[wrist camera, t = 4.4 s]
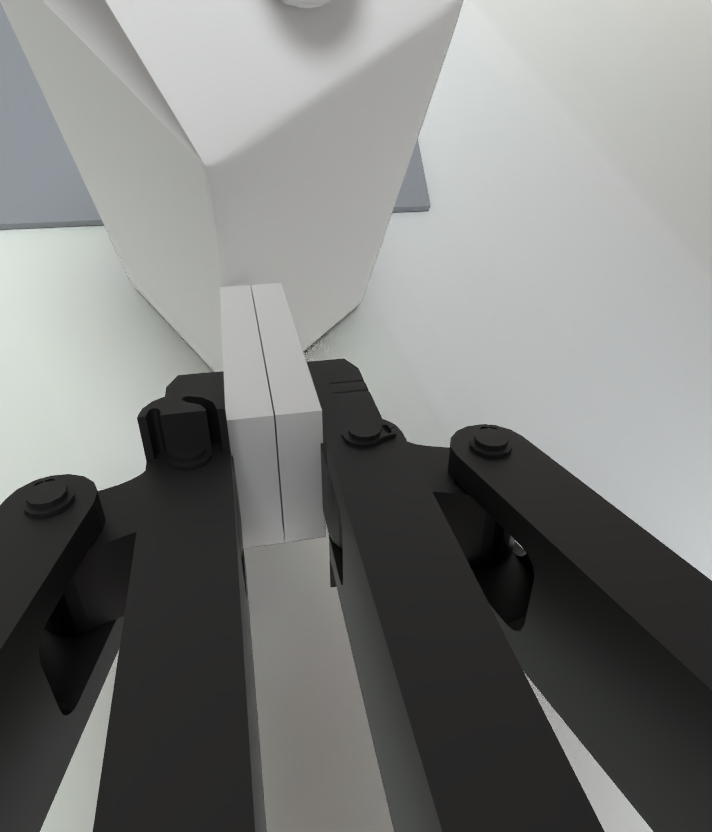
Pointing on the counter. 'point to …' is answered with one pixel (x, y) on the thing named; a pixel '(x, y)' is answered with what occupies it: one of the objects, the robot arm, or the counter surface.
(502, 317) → the counter surface
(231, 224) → the milk carton
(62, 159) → the mat
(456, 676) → the robot arm
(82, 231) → the counter surface
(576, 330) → the counter surface
